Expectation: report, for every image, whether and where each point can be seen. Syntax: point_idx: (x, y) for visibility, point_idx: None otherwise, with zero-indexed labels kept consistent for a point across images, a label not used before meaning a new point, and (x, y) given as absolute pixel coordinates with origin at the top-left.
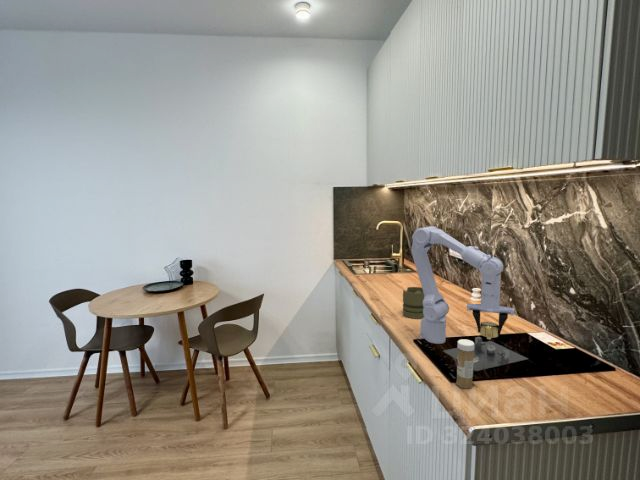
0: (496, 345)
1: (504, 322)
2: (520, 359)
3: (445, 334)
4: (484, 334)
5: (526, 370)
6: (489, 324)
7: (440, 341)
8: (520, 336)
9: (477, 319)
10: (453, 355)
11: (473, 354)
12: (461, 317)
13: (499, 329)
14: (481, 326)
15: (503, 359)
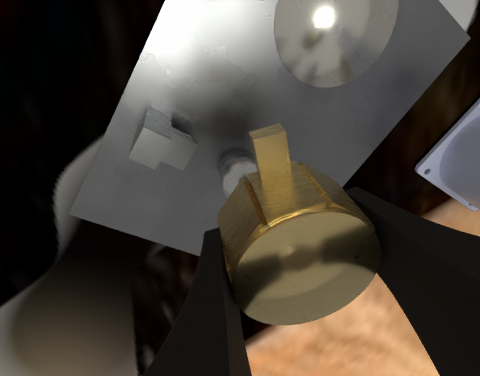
0: None
1: (168, 336)
2: (94, 184)
3: (473, 181)
4: (310, 170)
5: (27, 100)
6: (307, 279)
7: (477, 131)
8: None
9: (460, 246)
10: (415, 5)
11: (312, 95)
12: (374, 367)
13: (212, 258)
14: (365, 219)
15: (155, 112)
